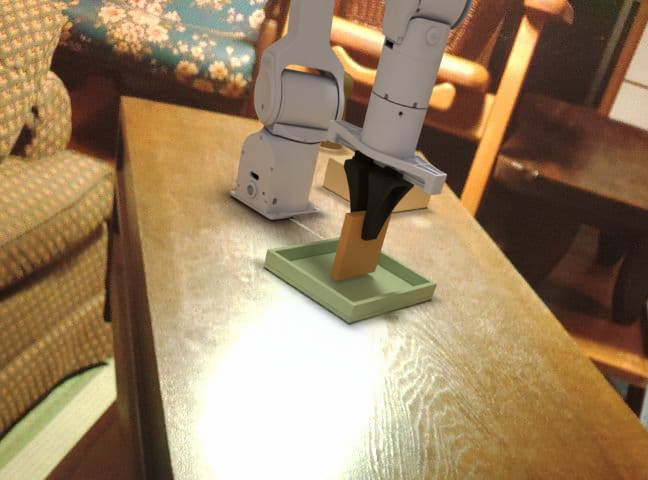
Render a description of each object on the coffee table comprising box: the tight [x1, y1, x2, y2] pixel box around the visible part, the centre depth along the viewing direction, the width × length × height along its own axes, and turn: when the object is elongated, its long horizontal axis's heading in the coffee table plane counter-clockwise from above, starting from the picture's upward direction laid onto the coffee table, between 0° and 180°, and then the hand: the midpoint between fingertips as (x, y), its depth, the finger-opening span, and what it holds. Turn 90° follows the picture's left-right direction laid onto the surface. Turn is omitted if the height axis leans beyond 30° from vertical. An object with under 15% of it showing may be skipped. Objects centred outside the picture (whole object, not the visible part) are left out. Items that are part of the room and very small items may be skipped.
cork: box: [320, 70, 355, 150], centre depth 119 cm, size 6×6×11 cm
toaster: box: [322, 154, 432, 214], centre depth 108 cm, size 14×10×4 cm
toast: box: [330, 211, 393, 280], centre depth 82 cm, size 7×1×7 cm, turn 138°
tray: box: [263, 237, 438, 324], centre depth 84 cm, size 15×13×2 cm
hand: (363, 235), depth 81 cm, fingers closed on toast, 1 cm apart
